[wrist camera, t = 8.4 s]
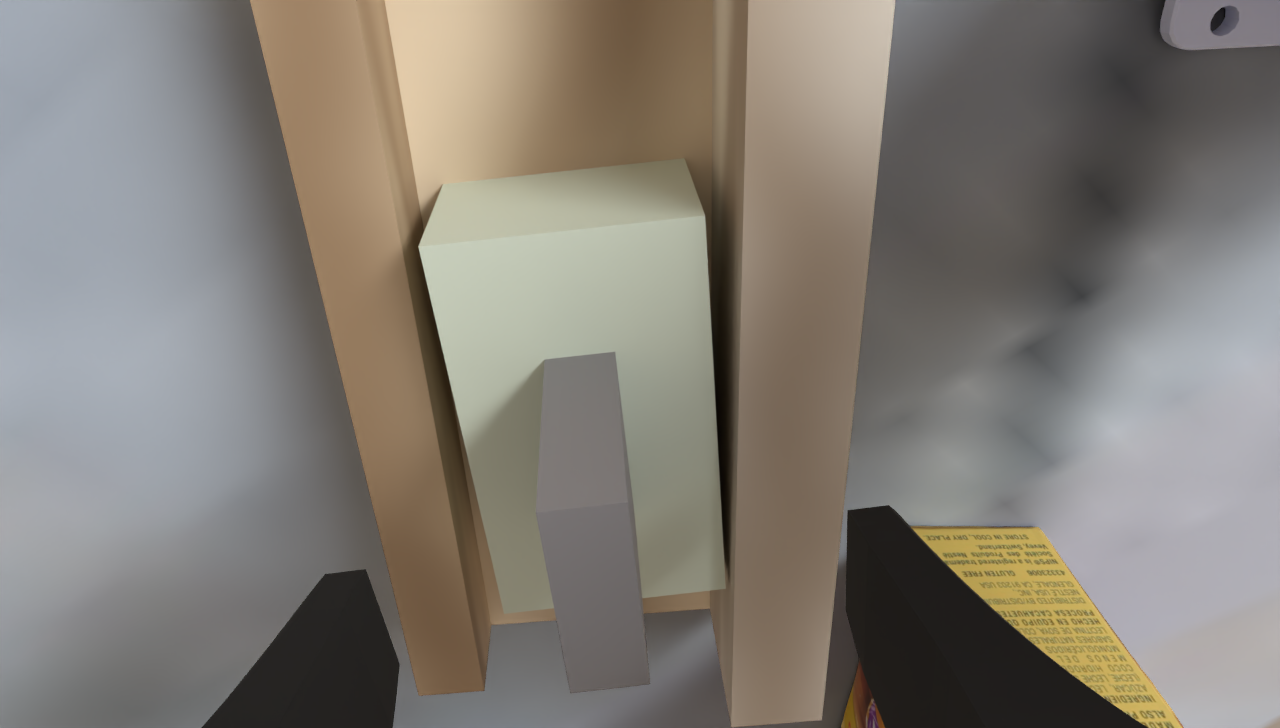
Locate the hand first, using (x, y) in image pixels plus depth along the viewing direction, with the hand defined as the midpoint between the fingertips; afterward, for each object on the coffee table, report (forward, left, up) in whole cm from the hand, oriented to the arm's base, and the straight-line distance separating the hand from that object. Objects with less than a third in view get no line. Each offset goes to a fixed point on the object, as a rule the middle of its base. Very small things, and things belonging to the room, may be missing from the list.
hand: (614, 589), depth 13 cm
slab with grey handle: (0, 0, -6) cm, 6 cm away
